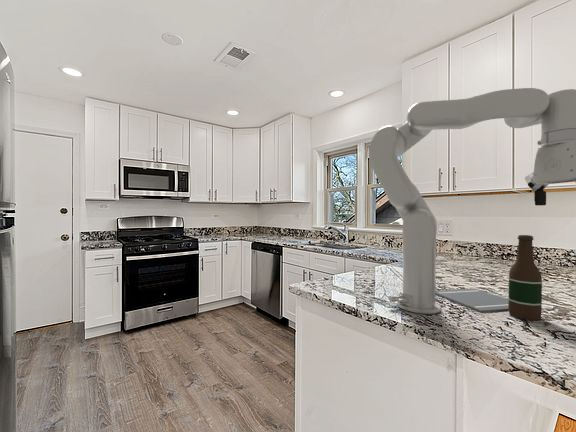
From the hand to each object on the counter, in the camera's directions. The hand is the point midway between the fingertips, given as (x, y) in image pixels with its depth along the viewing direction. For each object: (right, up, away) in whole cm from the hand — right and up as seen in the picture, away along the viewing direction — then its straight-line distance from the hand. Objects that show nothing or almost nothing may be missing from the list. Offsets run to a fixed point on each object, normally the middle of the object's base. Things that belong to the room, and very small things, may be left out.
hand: (560, 204), depth 74 cm
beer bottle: (-2, -33, +9) cm, 34 cm away
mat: (-5, -33, +25) cm, 41 cm away
